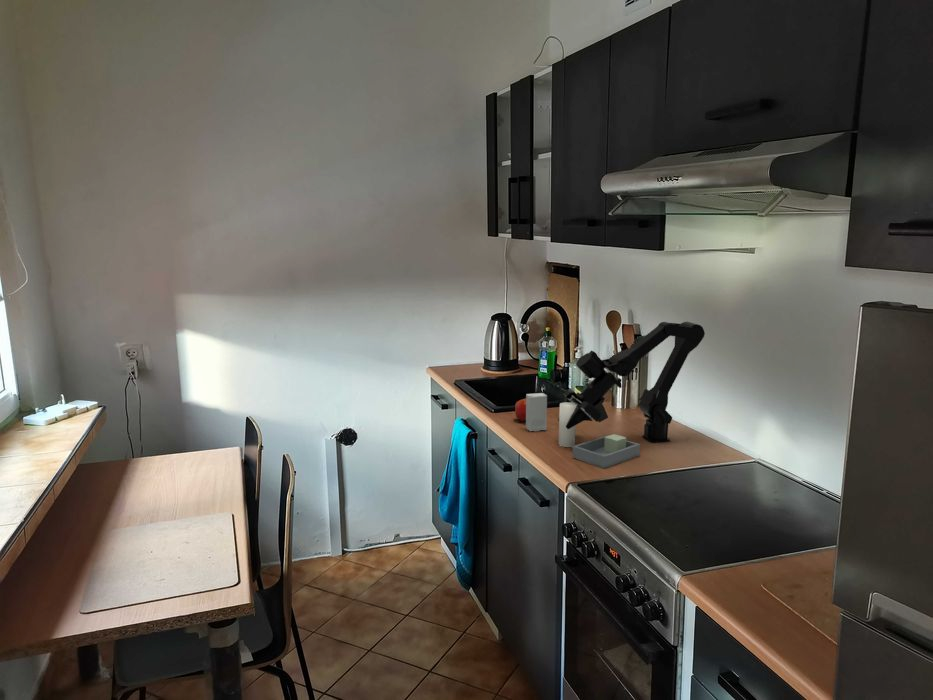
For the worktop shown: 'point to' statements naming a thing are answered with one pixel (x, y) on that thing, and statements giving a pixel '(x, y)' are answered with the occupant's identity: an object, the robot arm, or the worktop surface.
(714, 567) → the worktop surface
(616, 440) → the green cube
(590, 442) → the tote
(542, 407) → the skincare box
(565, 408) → the white cylinder
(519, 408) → the apple
